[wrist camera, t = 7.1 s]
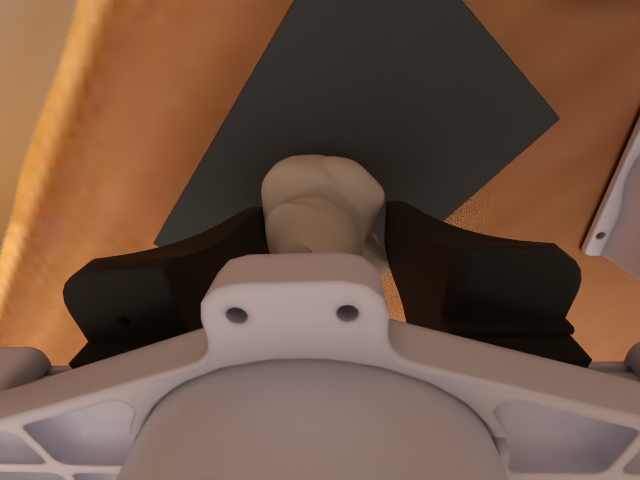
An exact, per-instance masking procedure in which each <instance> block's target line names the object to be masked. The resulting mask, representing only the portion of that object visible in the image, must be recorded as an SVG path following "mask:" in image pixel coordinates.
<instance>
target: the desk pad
mask: <svg viewBox="0 0 640 480" xmlns="http://www.w3.org/2000/svg"><path fill="white" fill-rule="evenodd" d="M558 120H559V117H558V115H557V114H556V113H555V112H554V111H553V109H552V108H551V107H550V106H549V105H548V103H547V102H546V101H545V100H544V99H543V97H542V96H541V95H540V94H539V93H538V91H537V90H536V89H535V88H534V87H533V85H532V84H531V83H530V82H529V80H528V79H527V78H526V77H525V76H524V74H523V73H522V72H521V71H520V70H519V68H518V67H517V66H516V65H515V64H514V62H513V61H512V60H511V59H510V58H509V56H508V55H507V54H506V53H505V52H504V50H503V49H502V48H501V47H500V46H499V44H498V43H497V42H496V41H495V40H494V38H493V37H492V36H491V35H490V34H489V32H488V31H487V30H486V29H485V27H484V26H483V25H482V24H481V23H480V21H479V20H478V19H477V18H476V17H475V15H474V14H473V13H472V12H471V11H470V9H469V8H468V7H467V6H466V5H465V3H464V2H463V1H462V0H294V1H293V3H292V5H291V6H290V8H289V10H288V12H287V13H286V15H285V17H284V19H283V20H282V22H281V24H280V25H279V27H278V29H277V31H276V32H275V34H274V36H273V38H272V39H271V41H270V43H269V44H268V46H267V48H266V50H265V51H264V53H263V55H262V57H261V58H260V60H259V62H258V63H257V65H256V67H255V69H254V70H253V72H252V74H251V75H250V77H249V79H248V81H247V82H246V84H245V86H244V88H243V89H242V91H241V93H240V94H239V96H238V98H237V100H236V101H235V103H234V105H233V107H232V108H231V110H230V112H229V113H228V115H227V117H226V119H225V120H224V122H223V124H222V126H221V127H220V129H219V131H218V132H217V134H216V136H215V138H214V139H213V141H212V143H211V145H210V146H209V148H208V150H207V151H206V153H205V155H204V157H203V158H202V160H201V162H200V164H199V165H198V167H197V169H196V170H195V172H194V174H193V176H192V177H191V179H190V181H189V183H188V184H187V186H186V188H185V189H184V191H183V193H182V195H181V196H180V198H179V200H178V202H177V203H176V205H175V207H174V208H173V210H172V212H171V214H170V215H169V217H168V219H167V220H166V222H165V224H164V226H163V227H162V229H161V231H160V233H159V234H158V236H157V238H156V239H155V241H154V244H155V245H157V246H158V247H162V246H165V245H168V244H172V243H175V242H178V241H181V240H184V239H187V238H190V237H192V236H195V235H197V234H199V233H202V232H204V231H206V230H208V229H210V228H212V227H214V226H216V225H218V224H220V223H222V222H223V221H225V220H227V219H229V218H231V217H232V216H234V215H236V214H238V213H239V212H241V211H243V210H245V209H247V208H250V207H262V196H261V189H262V183H263V180H264V178H265V176H266V175H267V173H268V172H269V171H270V170H271V168H272V167H273V166H274V165H275V164H276V163H278V162H279V161H281V160H284V159H286V158H289V157H291V156H298V155H323V156H326V157H328V156H338V157H343V158H347V159H350V160H353V161H355V162H357V163H359V164H360V165H361V166H362V167H363V168H364V169H365V170H366V171H367V172H368V173H369V174H370V175H371V176H372V177H373V178H374V179H375V180H376V181H377V182H378V183H379V184H380V186H381V187H382V188H383V191H384V194H385V200H384V204H383V207H382V209H381V211H380V212H379V214H378V217H377V220H376V223H375V225H374V227H373V228H372V231H373V232H374V233H375V235H376V236H377V238H378V240H379V243H380V246H381V248H382V250H383V251H384V253H385V255H386V251H385V245H384V233H385V213H386V201H404V202H406V203H408V204H410V205H411V206H413V207H415V208H417V209H419V210H420V211H422V212H424V213H426V214H428V215H430V216H432V217H434V218H436V219H438V220H441V221H444V220H445V219H446V218H447V217H449V216H450V215H451V214H452V213H453V212H454V211H455V210H456V209H458V208H459V207H460V206H461V205H462V204H463V203H464V202H466V201H467V200H468V199H469V198H470V197H471V196H472V195H474V194H475V193H476V192H477V191H478V190H479V189H480V188H482V187H483V186H484V185H485V184H486V183H487V182H488V181H490V180H491V179H492V178H493V177H494V176H495V175H496V174H498V173H499V172H500V171H501V170H502V169H503V168H504V167H506V166H507V165H508V164H509V163H510V162H511V161H512V160H514V159H515V158H516V157H517V156H518V155H519V154H520V153H522V152H523V151H524V150H525V149H526V148H527V147H528V146H530V145H531V144H532V143H533V142H534V141H535V140H536V139H538V138H539V137H540V136H541V135H542V134H543V133H544V132H546V131H547V130H548V129H549V128H550V127H551V126H552V125H554V124H555V123H556V122H557V121H558ZM386 257H387V256H386ZM389 268H390V267H389Z"/></svg>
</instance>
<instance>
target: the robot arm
mask: <svg viewBox="0 0 640 480" xmlns="http://www.w3.org/2000/svg"><path fill="white" fill-rule="evenodd" d="M599 233H600V234H599ZM597 234H599V235H597ZM384 245H385V251H386V256H387V261H388V264H389V267H390V270H391V273H392V275H393V278H394V281H395V284H396V287H397V289H398V292H399V295H400V298H401V301H402V305H403V309H404V313H405V318H406V322H407V323H404V322H400V321H396V320H392V319H389V315H388V310H387V306H386V301H385V297H384V292H383V288H382V284H381V280H380V277H379V273H378V270H377V268H376V267H375V266H374V265H372V264H371V263H370V262H369V261H367V260H366V259H365V258H364V257H362V256H360V255H355V254H349V253H344V252H318V253H288V254H270V252H269V249H268V245H267V239H266V232H265V222H264V217H263V207H250V208H247V209H245V210H243V211H241V212H239V213H238V214H236V215H234V216H232V217H231V218H229V219H227V220H225V221H223V222H222V223H220V224H218V225H216V226H214V227H212V228H210V229H208V230H206V231H204V232H202V233H199V234H197V235H195V236H192V237H190V238H187V239H184V240H181V241H178V242H175V243H172V244H168V245H165V246H162V247H158V248H154V249H150V250H146V251H141V252H136V253H131V254H125V255H119V256H112V257H105V258H98V259H93V260H92V261H90V262H89V263H88V264H86V265H85V266H84V267H83V268H81V269H80V270H79V271H77V272H76V273H75V274H74V275H72V276H71V277H70V278H69V279H68V281H67V282H66V283H65V285H64V289H63V297H64V303H65V305H66V307H67V309H68V311H69V313H70V314H71V316H72V317H73V319H74V320H75V322H76V323H77V325H78V326H79V328H80V329H81V331H82V332H83V334H84V336H85V337H86V339H87V340H88V341H89V342H88V343H87V344H86V345H85V346H84V347H83V348H82V349H81V350H80V352H79V353H78V354H77V355H76V356H75V357H74V358H73V359H72V360H71V362H70V363H69V365H70V366H52V365H51V362H50V361H49V359H48V357H47V356H46V355H45V354H44V353H43V352H42V351H40V350H38V349H36V348H32V347H0V480H640V342H639V343H636V344H635V345H634V346H633V347H631V348H630V350H629V351H628V353H627V355H626V357H625V360H624V362H591V361H592V359H591V358H590V357H589V355H588V354H587V353H586V352H585V351H584V350H583V349H582V348H581V347H580V345H579V344H578V343H577V342H576V341H575V340H574V339H573V338H572V336H571V335H570V334H573V333H574V331H575V330H574V327H573V326H572V325H571V324H570V323H569V322H568V320H567V319H566V316H567V313H568V311H569V309H570V307H571V305H572V303H573V301H574V299H575V297H576V294H577V292H578V290H579V287H580V283H581V270H580V268H579V266H578V264H577V262H576V261H575V260H574V259H573V258H572V257H570V256H569V255H568V254H567V253H565V252H564V251H563V250H562V249H560V248H559V247H558V246H557V245H556V244H554V243H543V242H531V241H519V240H512V239H505V238H499V237H494V236H488V235H484V234H480V233H476V232H472V231H468V230H465V229H462V228H459V227H456V226H453V225H450V224H448V223H445V222H443V221H441V220H438V219H436V218H434V217H432V216H430V215H428V214H426V213H424V212H422V211H420V210H419V209H417V208H415V207H413V206H411V205H410V204H408V203H406V202H404V201H386V213H385V233H384ZM581 250H582V252H583V253H585V254H586V255H588V256H602V257H604V258H605V259H607V260H608V261H610V262H611V263H612V264H614V265H615V266H617V267H618V268H620V269H621V270H623V271H624V272H625V273H627V274H628V275H630V276H631V277H633V278H634V279H636V280H637V281H638V282H640V116H639V119H638V121H637V123H636V125H635V128H634V130H633V132H632V135H631V137H630V139H629V141H628V144H627V146H626V148H625V150H624V153H623V155H622V157H621V159H620V162H619V164H618V166H617V169H616V171H615V173H614V175H613V178H612V180H611V182H610V184H609V187H608V189H607V191H606V194H605V196H604V198H603V200H602V203H601V205H600V207H599V209H598V212H597V214H596V216H595V219H594V221H593V223H592V225H591V228H590V230H589V232H588V234H587V237H586V239H585V241H584V243H583V246H582V249H581Z"/></svg>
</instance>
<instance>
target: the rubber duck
mask: <svg viewBox="0 0 640 480" xmlns="http://www.w3.org/2000/svg"><path fill="white" fill-rule="evenodd" d="M261 196H262V207H263V217H264V222H265V232H266V239H267V245H268V249H269V252H270V254H288V253H318V252H344V253H349V254H355V255H360V256H362V257H364V258H365V259H366V260H367V261H369V262H370V263H371V264H372V265H374V266H375V267H376V268H377V270H378V273H379V277H380V280H382V279H383V278H384V277H385V276H386V275H387V273H388V270H389V264H388V261H387V257H386V255H385V253H384V251H383V250H382V248H381V246H380V243H379V240H378V238H377V236H376V235H375V233H374V232H373V231H372V228H373V227H374V225H375V223H376V220H377V217H378V214H379V212H380V211H381V209H382V207H383V204H384V200H385V194H384V191H383V188H382V187H381V186H380V184H379V183H378V182H377V181H376V180H375V179H374V178H373V177H372V176H371V175H370V174H369V173H368V172H367V171H366V170H365V169H364V168H363V167H362V166H361V165H360V164H359V163H357V162H355V161H353V160H350V159H347V158H343V157H338V156H328V157H326V156H323V155H298V156H291V157H289V158H286V159H284V160H281V161H279V162H278V163H276V164H275V165H274V166H273V167H272V168H271V170H270V171H269V172H268V173H267V175H266V176H265V178H264V180H263V183H262V189H261Z"/></svg>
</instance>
